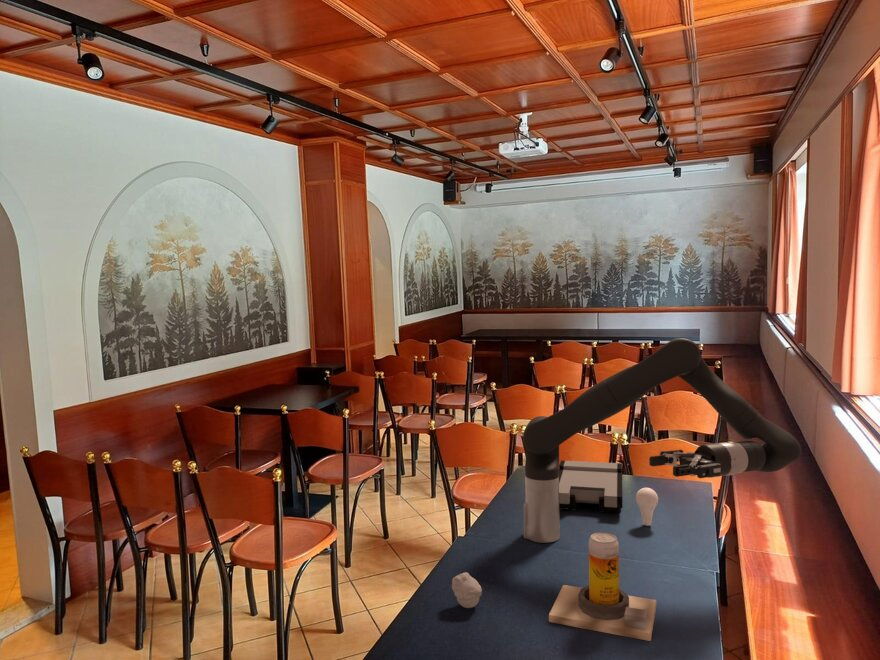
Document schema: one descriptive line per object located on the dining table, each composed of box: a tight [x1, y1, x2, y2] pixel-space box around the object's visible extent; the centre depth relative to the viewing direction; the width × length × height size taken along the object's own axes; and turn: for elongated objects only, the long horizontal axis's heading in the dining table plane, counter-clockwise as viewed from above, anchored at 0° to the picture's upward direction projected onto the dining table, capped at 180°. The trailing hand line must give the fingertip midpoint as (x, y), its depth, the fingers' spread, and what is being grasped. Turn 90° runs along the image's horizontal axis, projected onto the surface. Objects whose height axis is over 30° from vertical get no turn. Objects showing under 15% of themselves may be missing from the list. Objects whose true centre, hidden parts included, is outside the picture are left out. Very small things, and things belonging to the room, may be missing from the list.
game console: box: [559, 460, 623, 514], centre depth 202 cm, size 21×32×8 cm, turn 164°
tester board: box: [548, 584, 657, 642], centre depth 131 cm, size 20×14×4 cm
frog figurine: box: [451, 571, 483, 609], centre depth 135 cm, size 6×7×7 cm
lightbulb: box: [635, 487, 659, 527], centre depth 178 cm, size 6×6×11 cm
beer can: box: [588, 532, 620, 606], centre depth 130 cm, size 6×6×15 cm
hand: (661, 466), depth 140 cm, fingers open, 8 cm apart
